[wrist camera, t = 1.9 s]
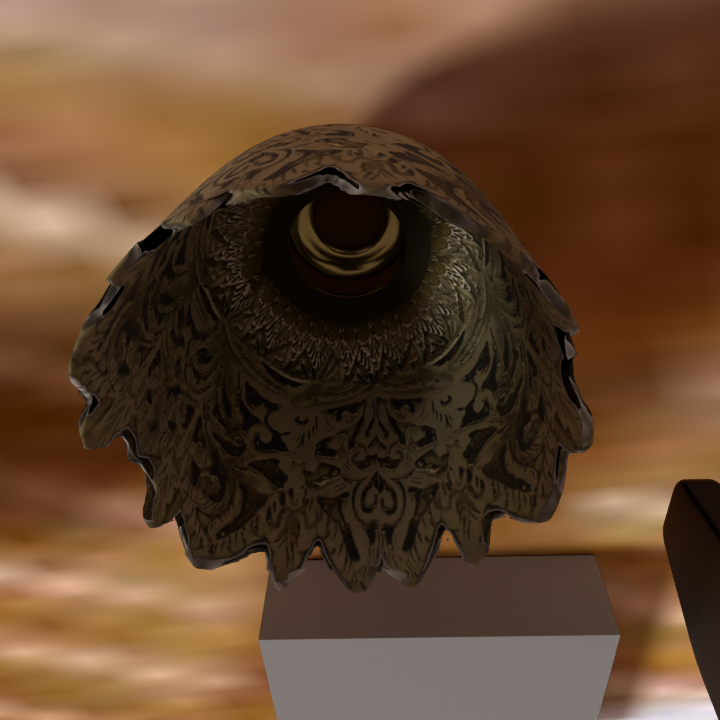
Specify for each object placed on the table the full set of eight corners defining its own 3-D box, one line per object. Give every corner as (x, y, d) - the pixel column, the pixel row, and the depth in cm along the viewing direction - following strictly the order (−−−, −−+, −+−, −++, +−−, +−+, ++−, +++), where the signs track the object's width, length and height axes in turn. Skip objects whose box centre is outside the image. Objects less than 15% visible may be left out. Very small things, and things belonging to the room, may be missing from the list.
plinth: (303, 725, 30) (296, 801, 28) (270, 560, 24) (258, 639, 21) (558, 723, 29) (575, 800, 27) (594, 554, 23) (620, 635, 21)
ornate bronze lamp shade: (139, 101, 15) (-46, 273, 8) (475, 1, 14) (565, 113, 7) (257, 370, 19) (195, 626, 13) (524, 312, 18) (610, 563, 11)
